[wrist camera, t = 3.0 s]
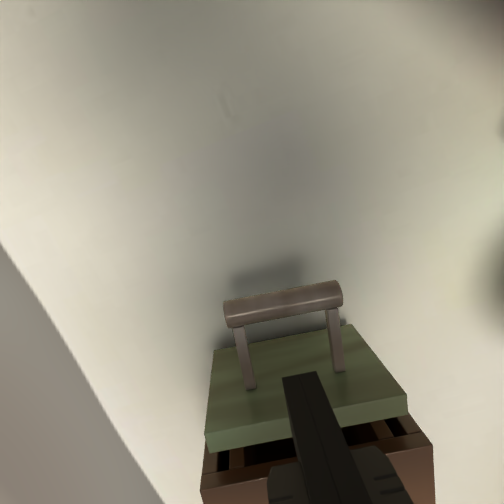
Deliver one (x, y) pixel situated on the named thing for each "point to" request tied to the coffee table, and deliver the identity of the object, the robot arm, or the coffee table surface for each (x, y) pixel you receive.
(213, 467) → the cabinet
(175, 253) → the coffee table surface
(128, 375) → the coffee table surface
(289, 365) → the drawer
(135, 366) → the coffee table surface
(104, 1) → the coffee table surface
